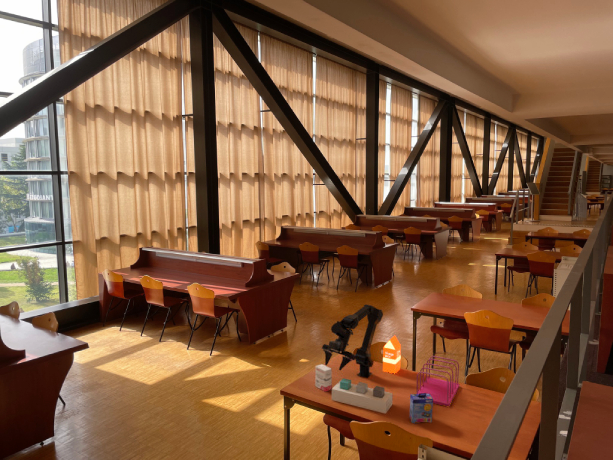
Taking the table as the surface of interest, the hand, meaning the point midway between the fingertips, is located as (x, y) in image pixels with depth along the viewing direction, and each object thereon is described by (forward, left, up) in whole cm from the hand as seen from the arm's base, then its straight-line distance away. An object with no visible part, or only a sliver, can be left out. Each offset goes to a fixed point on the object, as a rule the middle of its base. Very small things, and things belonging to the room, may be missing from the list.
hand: (332, 367), depth 252 cm
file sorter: (-27, +49, -15) cm, 58 cm away
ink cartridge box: (+4, +48, -15) cm, 50 cm away
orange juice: (-42, +19, -15) cm, 49 cm away
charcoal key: (+1, +26, -9) cm, 27 cm away
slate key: (+1, +17, -9) cm, 19 cm away
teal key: (+1, +8, -9) cm, 12 cm away
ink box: (-4, -7, -15) cm, 17 cm away
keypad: (+1, +17, -15) cm, 22 cm away
